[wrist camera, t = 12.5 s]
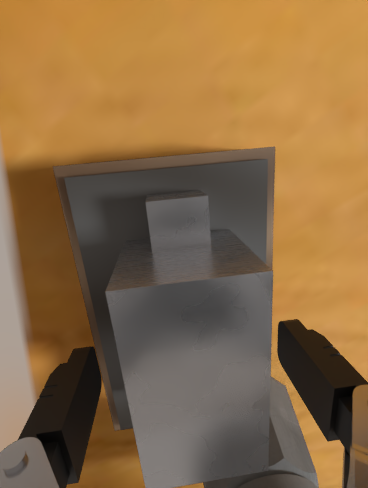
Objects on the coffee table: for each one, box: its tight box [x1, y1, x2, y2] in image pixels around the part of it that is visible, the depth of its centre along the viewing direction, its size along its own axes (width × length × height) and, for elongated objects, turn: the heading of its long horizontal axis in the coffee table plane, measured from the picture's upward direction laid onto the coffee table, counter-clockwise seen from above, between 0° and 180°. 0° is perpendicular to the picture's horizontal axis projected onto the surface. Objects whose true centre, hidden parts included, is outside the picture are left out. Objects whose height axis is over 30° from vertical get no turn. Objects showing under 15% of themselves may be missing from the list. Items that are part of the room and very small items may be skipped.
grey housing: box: [105, 190, 273, 488], centre depth 11 cm, size 5×13×5 cm, turn 5°
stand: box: [53, 147, 275, 431], centre depth 16 cm, size 16×10×4 cm, turn 5°
